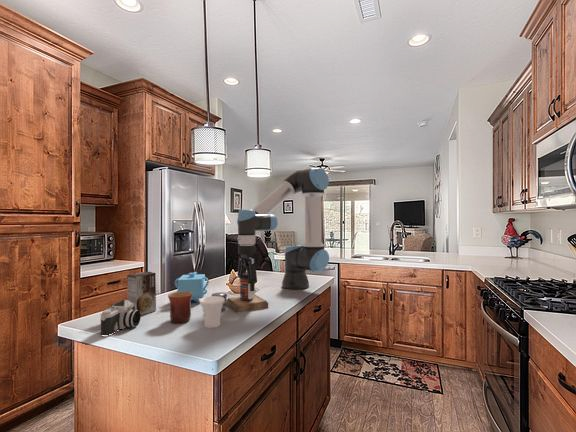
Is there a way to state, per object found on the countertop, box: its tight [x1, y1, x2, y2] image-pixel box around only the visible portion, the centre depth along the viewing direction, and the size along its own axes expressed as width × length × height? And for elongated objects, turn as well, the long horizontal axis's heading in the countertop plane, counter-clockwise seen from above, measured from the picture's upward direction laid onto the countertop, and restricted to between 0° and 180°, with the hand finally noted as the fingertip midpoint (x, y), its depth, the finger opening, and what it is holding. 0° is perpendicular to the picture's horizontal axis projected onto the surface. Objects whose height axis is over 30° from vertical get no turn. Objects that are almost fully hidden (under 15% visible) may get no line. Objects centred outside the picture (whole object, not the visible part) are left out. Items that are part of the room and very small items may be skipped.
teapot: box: [174, 271, 210, 304], centre depth 150 cm, size 18×16×13 cm
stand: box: [227, 294, 269, 314], centre depth 137 cm, size 14×14×3 cm
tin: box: [211, 291, 228, 312], centre depth 132 cm, size 6×6×7 cm
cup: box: [199, 295, 225, 329], centre depth 112 cm, size 9×9×10 cm
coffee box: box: [126, 270, 157, 316], centre depth 129 cm, size 9×6×16 cm
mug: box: [167, 291, 193, 325], centre depth 119 cm, size 12×9×10 cm
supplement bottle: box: [239, 272, 253, 301], centre depth 137 cm, size 6×6×11 cm
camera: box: [100, 299, 142, 336], centre depth 110 cm, size 16×9×10 cm, turn 177°
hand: (246, 295), depth 137 cm, fingers open, 10 cm apart
